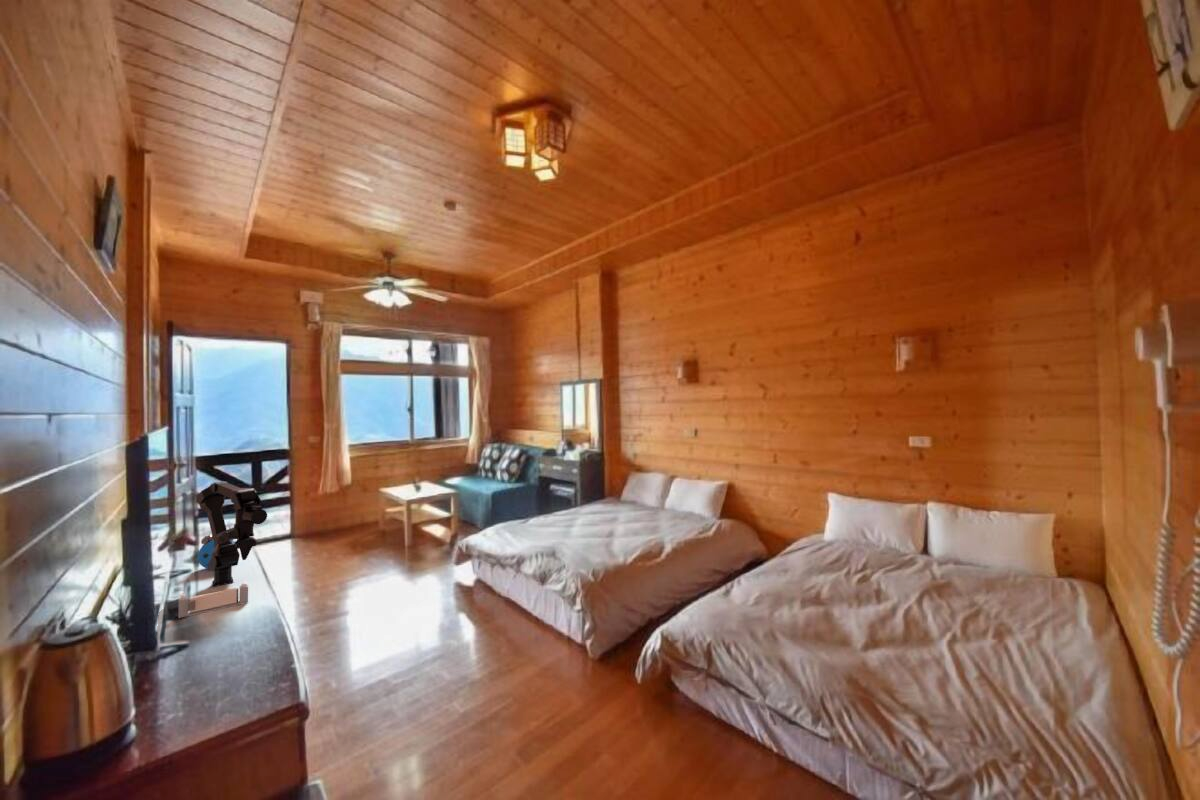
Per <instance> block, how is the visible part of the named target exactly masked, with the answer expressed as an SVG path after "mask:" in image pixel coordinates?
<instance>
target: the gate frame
mask: <svg viewBox="0 0 1200 800" xmlns="http://www.w3.org/2000/svg"><path fill="white" fill-rule="evenodd" d="M247 602H248V603H249V584H247V582H243V583H241V585H240V586H239V595H238V603H232V604H228V605H223V606H219V607H214V608H210V609H205V610H201V611H196V612H192V613H190V611H191V610H195V600H194V601H190V600H189V596H187V595H185V594H182V595H181V596H180V598H178V619H181V618H184V617H191V616H194V615H198V614H204V613H209V612H213V611H217V610H222V609H226V608H231V607H235V606H239V605H243V603H244V604H247Z"/></svg>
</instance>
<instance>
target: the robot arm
mask: <svg viewBox="0 0 1200 800" xmlns="http://www.w3.org/2000/svg"><path fill="white" fill-rule="evenodd" d="M225 498H229V499H230V502H231V503H232V504H233V505H234V506H233V509H234V510H235V523H234V524H233V527H231V528H229V529H227V527H226V526H227V525H226V522H225V518H224V515H223V510H222V508H223V506H224V504H225V502H226V501H225ZM196 502H197V503H198V505H199V508H200V509H201V511H203V512H205V513H206V516H207V519H208V523H209V527H210V530H211V531H210V532H211V535H212V536H213V540H214V544H215V548H214V550H213V552H212V559H211V560H210V562H209V563H208V565H207V566H208V569H207V570H208V571H211V572H213V580H212V587H218V586H223V585H227V584H233V583H234V578H233V576H232V573H233V567H235V566H238V564H239V560H240V555H241V559H242V561H246V560H247V558H248V557H249V555H250V552H251V551H252V548H253V547H255V546H257V539H256V538H255V537H254V536H255V533H254V526H255V525H262V524H263V523H265V521H266V520H267V518H268V513H267V511H266V510H265V509H263V507H262V505H263V504H262V500H261V497H260V496H259V494H258V491H256V489H255V488H253V487H239V486H236V485H234V484H232V483H229V482H228V481H224V480H223V481H215V482H213V483H211V484H210V485H209V486H208V487H205V488H204V489H203V490H201V491H200V492H199V494H198V495H197V497H196ZM230 539H233V540H235V541H234V543H235V544H232V543H231V542H230V541H229V540H230Z"/></svg>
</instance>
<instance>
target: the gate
mask: <svg viewBox="0 0 1200 800" xmlns="http://www.w3.org/2000/svg"><path fill="white" fill-rule="evenodd" d="M194 600H195V610H191V611H189V612H190V613H192V612H196V611H201V610H205V609H210V608H214V607H219V606H223V605H228V604H232V603H238V601H239V588H238V587H234V588H229V589H223V590H219V591H215V592H214V591H213V592H210V593H205V594H200V595H195V596H190V597H189V601H194Z"/></svg>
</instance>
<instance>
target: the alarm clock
mask: <svg viewBox="0 0 1200 800" xmlns="http://www.w3.org/2000/svg"><path fill="white" fill-rule="evenodd" d="M229 541H230V542H231V543H232V544H235V543H234V542H235V541H234V539H230V540H229ZM200 544H201V545H202V546H201V548H200V549H199V550H198V553H197V561H198V564H199V565H200V566H201V567H203V568H205V569H207V570H208V566H207V565H208V563H209V562H210V560H211V559H212V552H213V550H214V548H215V544H214V540H213V536H212V534H208V535H205V536H204V537H203V538H202V539H201V541H200Z"/></svg>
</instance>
